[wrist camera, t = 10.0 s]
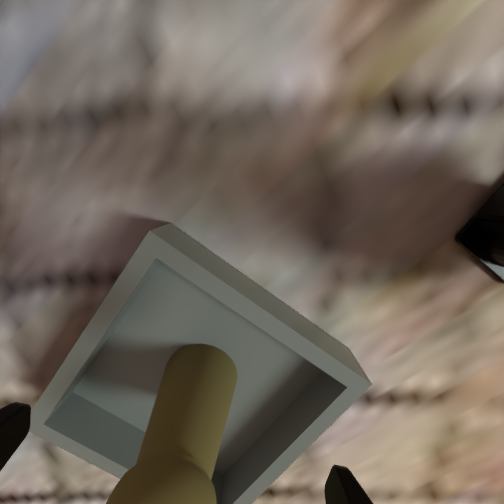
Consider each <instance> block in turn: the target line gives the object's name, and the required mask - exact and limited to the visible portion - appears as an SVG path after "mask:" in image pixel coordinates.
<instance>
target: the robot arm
mask: <svg viewBox="0 0 504 504" xmlns="http://www.w3.org/2000/svg"><path fill="white" fill-rule="evenodd" d="M464 236H465V239H464V240H463V237H464ZM455 240H456V242H457V243H458V244H459V245H460V246H462V247H463V248H464V249H465V250H466V251H468V252H469V253H470V254H471V255H472V256H473V257H475V258H476V259H477V260H478V261H479V262H480V263H482V264H483V265H484V266H485V267H486V268H487V269H489V270H490V271H491V272H492V273H493V274H494V275H496V276H497V277H498V278H499V279H500V280H502V281H503V282H504V185H503V186H502V187H501V188H500V189H499V190H498V191H497V192H496V193H495V194H494V195H493V196H492V197H491V198H490V199H489V200H488V201H487V203H486V204H485V205H484V206H483V207H482V208H481V209H480V210H479V211H478V212H477V213H476V214H475V215H474V216H473V217H472V219H471V220H470V221H469V222H468V223H467V224H466V225H465V226H464V227H463V228H462V229H461V230H460V231H459V232H458V233H457V235H456V237H455ZM30 424H31V407H30V405H28V404H24V403H19V402H15V403H11V404H9V405H7V406H5V407H3V408H1V409H0V471H1V470H2V468H3V467H4V466H5V464H6V463H7V462H8V460H9V459H10V457H11V456H12V455H13V453H14V452H15V451H16V449H17V448H18V447H19V445H20V444H21V443H22V441H23V440H24V439H25V437H26V436H27V434H28V432H29V429H30ZM325 500H326V504H373V503H372V501H371V500H370V498H369V497H368V495H367V494H366V493H365V491H364V490H363V488H362V487H361V486H360V484H359V483H358V481H357V480H356V478H355V477H354V476H353V474H352V473H351V471H350V470H349V469H348V468H347V467H344V466H339V465H334V466H333V467H332V469H331V471H330V474H329V476H328V479H327V481H326V484H325Z"/></svg>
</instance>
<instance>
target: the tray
mask: <svg viewBox="0 0 504 504" xmlns="http://www.w3.org/2000/svg"><path fill="white" fill-rule="evenodd" d="M191 344H207V345H212V346H215V347H217V348H219V349H221V350H223V351H224V352H225V353H226V354H227V355H228V356H229V357H230V358H231V359H232V361H233V362H234V364H235V366H236V369H237V377H238V378H237V382H236V386H235V390H234V394H233V398H232V402H231V406H230V410H229V413H228V417H227V421H226V425H225V429H224V433H223V437H222V440H221V444H220V448H219V452H218V456H217V460H216V464H215V467H214V471H213V475H212V479H211V481H212V483H213V485H214V489H215V494H216V501H217V504H252V503H253V502H254V501H255V500H256V499H257V498H258V497H259V496H260V495H261V494H262V493H263V492H264V491H265V490H266V489H267V488H268V487H269V486H270V485H271V484H272V483H273V482H274V481H275V480H276V479H277V478H278V477H279V476H280V475H281V474H282V473H283V472H284V471H285V470H286V469H287V468H288V467H289V466H290V465H291V464H292V463H293V462H294V461H295V460H296V459H297V458H298V457H299V456H300V455H301V454H302V453H303V452H304V451H305V450H306V449H307V448H308V447H309V446H310V445H311V444H312V443H313V442H314V441H315V440H316V439H317V438H318V437H319V436H320V435H321V434H322V433H323V432H324V431H325V430H326V429H327V428H328V427H329V426H330V425H332V424H333V423H334V422H335V421H336V420H337V419H338V418H339V417H340V416H341V415H342V414H343V413H344V412H345V411H346V410H347V409H348V408H349V407H350V406H351V405H352V404H353V403H354V402H355V401H356V400H357V399H358V398H359V397H360V396H361V395H362V394H363V393H364V392H365V391H366V390H367V389H368V388H369V387H370V386H371V385H372V383H371V382H370V380H369V379H368V377H367V376H366V374H365V372H364V371H363V369H362V368H361V366H360V364H359V363H358V361H357V360H356V358H355V357H354V355H353V353H352V352H351V350H350V349H349V348H348V347H346V346H345V345H343V344H342V343H341V342H339V341H338V340H336V339H335V338H334V337H332V336H331V335H329V334H328V333H326V332H325V331H324V330H322V329H321V328H319V327H318V326H317V325H315V324H314V323H312V322H311V321H309V320H308V319H307V318H305V317H304V316H302V315H301V314H299V313H298V312H297V311H295V310H294V309H292V308H291V307H290V306H288V305H287V304H285V303H284V302H282V301H281V300H280V299H278V298H277V297H275V296H274V295H273V294H271V293H270V292H268V291H267V290H265V289H264V288H263V287H261V286H260V285H258V284H257V283H256V282H254V281H253V280H251V279H250V278H248V277H247V276H246V275H244V274H243V273H241V272H240V271H239V270H237V269H236V268H234V267H233V266H231V265H230V264H229V263H227V262H226V261H224V260H223V259H222V258H220V257H219V256H217V255H216V254H214V253H213V252H212V251H210V250H209V249H207V248H206V247H204V246H203V245H202V244H200V243H199V242H197V241H196V240H195V239H193V238H192V237H190V236H189V235H187V234H186V233H185V232H183V231H182V230H180V229H179V228H178V227H176V226H175V225H173V224H172V223H169V224H166V225H163V226H160V227H157V228H155V229H152V230H149V231H148V233H147V234H146V236H145V237H144V239H143V240H142V242H141V244H140V245H139V247H138V248H137V250H136V251H135V253H134V254H133V256H132V257H131V259H130V260H129V262H128V264H127V265H126V267H125V268H124V270H123V271H122V273H121V274H120V276H119V277H118V279H117V280H116V282H115V283H114V285H113V287H112V288H111V290H110V291H109V293H108V294H107V296H106V297H105V299H104V300H103V302H102V303H101V305H100V307H99V308H98V310H97V311H96V313H95V314H94V316H93V317H92V319H91V320H90V322H89V323H88V325H87V326H86V328H85V330H84V331H83V333H82V334H81V336H80V337H79V339H78V340H77V342H76V343H75V345H74V346H73V348H72V349H71V351H70V353H69V354H68V356H67V357H66V359H65V360H64V362H63V363H62V365H61V366H60V368H59V369H58V371H57V373H56V374H55V376H54V377H53V379H52V380H51V382H50V383H49V385H48V386H47V388H46V389H45V391H44V392H43V394H42V396H41V397H40V399H39V400H38V402H37V403H36V405H35V406H34V408H33V409H32V411H31V424H30V429H29V432H31V433H33V434H35V435H37V436H39V437H41V438H43V439H45V440H47V441H49V442H51V443H53V444H54V445H56V446H58V447H60V448H62V449H64V450H66V451H68V452H70V453H72V454H74V455H76V456H78V457H79V458H81V459H83V460H85V461H87V462H89V463H91V464H93V465H95V466H97V467H99V468H101V469H102V470H104V471H106V472H108V473H110V474H112V475H114V476H116V477H118V478H120V479H121V478H122V477H123V475H124V474H125V473H126V472H127V471H128V470H130V469H131V468H132V467H133V466H135V465H136V462H137V459H138V455H139V452H140V449H141V446H142V442H143V439H144V436H145V432H146V429H147V426H148V423H149V419H150V416H151V413H152V410H153V406H154V403H155V400H156V397H157V393H158V390H159V387H160V383H161V380H162V377H163V374H164V370H165V367H166V364H167V362H168V361H169V359H170V357H171V356H172V355H173V354H174V353H175V352H176V351H177V350H179V349H180V348H183V347H185V346H188V345H191Z"/></svg>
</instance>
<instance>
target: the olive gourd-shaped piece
mask: <svg viewBox="0 0 504 504" xmlns="http://www.w3.org/2000/svg"><path fill="white" fill-rule="evenodd" d="M237 378H238V377H237V369H236V366H235V364H234V362H233V361H232V359H231V358H230V357H229V356H228V355H227V354H226V353H225V352H224V351H223V350H221V349H219V348H217V347H215V346H212V345H207V344H191V345H188V346H185V347H183V348H180V349H179V350H177V351H176V352H175V353H174V354H173V355H172V356H171V357H170V359H169V361H168V362H167V364H166V367H165V370H164V374H163V377H162V380H161V383H160V387H159V390H158V393H157V397H156V400H155V403H154V406H153V410H152V413H151V416H150V419H149V423H148V426H147V429H146V432H145V436H144V439H143V442H142V446H141V449H140V452H139V455H138V459H137V462H136V465H135V466H133V467H132V468H131V469H130V470H128V471H127V472H126V473H125V474H124V475H123V477H122V478H121V480H120V481H119V482H118V484H117V485H116V487H115V488H114V490H113V492H112V493H111V495H110V497H109V499H108V501H107V503H106V504H217V501H216V494H215V489H214V485H213V483H212V481H211V479H212V475H213V471H214V467H215V464H216V460H217V456H218V452H219V448H220V444H221V440H222V437H223V433H224V429H225V425H226V421H227V417H228V413H229V410H230V406H231V402H232V398H233V394H234V390H235V386H236V382H237Z"/></svg>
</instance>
